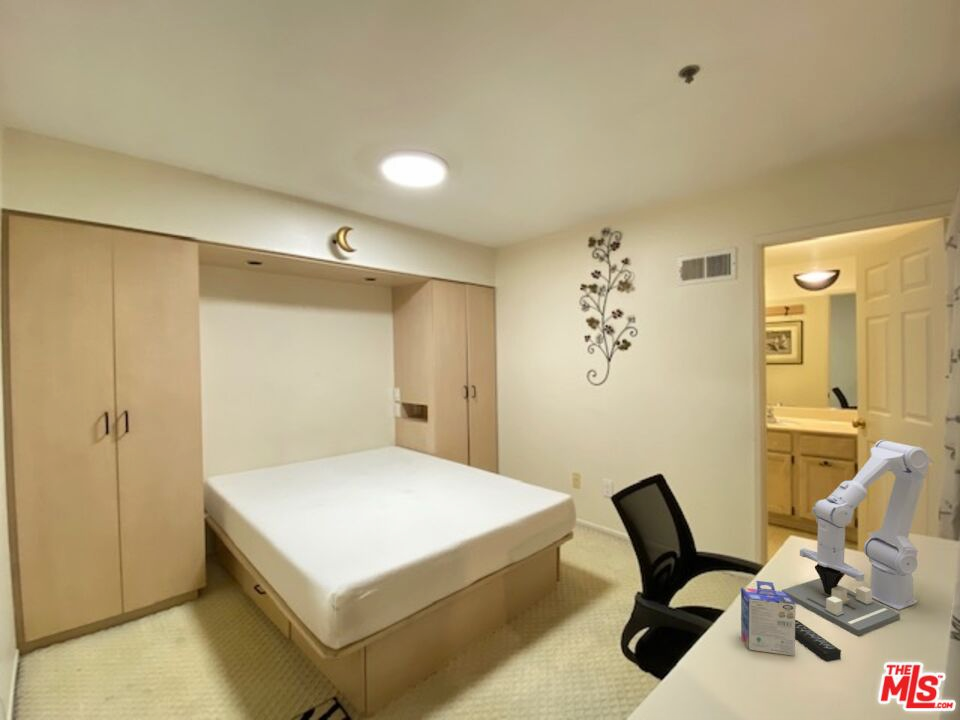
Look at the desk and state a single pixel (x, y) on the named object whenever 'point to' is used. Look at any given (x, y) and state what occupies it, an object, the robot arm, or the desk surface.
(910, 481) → the robot arm
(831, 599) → the block
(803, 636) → the multiport hub
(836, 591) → the block
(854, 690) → the desk surface
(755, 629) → the ink cartridge box
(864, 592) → the breaker handle
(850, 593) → the panel
